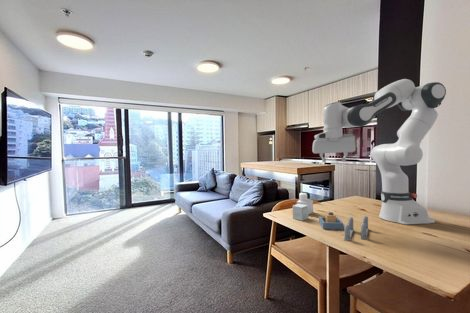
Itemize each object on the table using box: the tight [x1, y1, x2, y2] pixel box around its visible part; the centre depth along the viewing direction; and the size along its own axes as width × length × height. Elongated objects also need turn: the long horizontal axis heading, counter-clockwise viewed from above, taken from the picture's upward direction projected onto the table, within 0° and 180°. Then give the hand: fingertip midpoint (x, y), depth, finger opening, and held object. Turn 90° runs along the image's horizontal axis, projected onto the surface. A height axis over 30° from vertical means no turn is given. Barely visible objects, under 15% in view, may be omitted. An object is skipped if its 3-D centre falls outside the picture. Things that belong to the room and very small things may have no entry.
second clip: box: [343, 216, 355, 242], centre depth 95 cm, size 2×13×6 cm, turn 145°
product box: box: [292, 203, 309, 222], centre depth 120 cm, size 6×6×7 cm
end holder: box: [318, 216, 344, 231], centre depth 107 cm, size 9×9×3 cm
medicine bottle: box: [296, 191, 314, 216], centre depth 130 cm, size 7×7×12 cm
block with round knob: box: [324, 211, 337, 222], centre depth 107 cm, size 4×4×6 cm
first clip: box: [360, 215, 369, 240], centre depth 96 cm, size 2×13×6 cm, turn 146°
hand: (333, 161), depth 112 cm, fingers open, 8 cm apart
